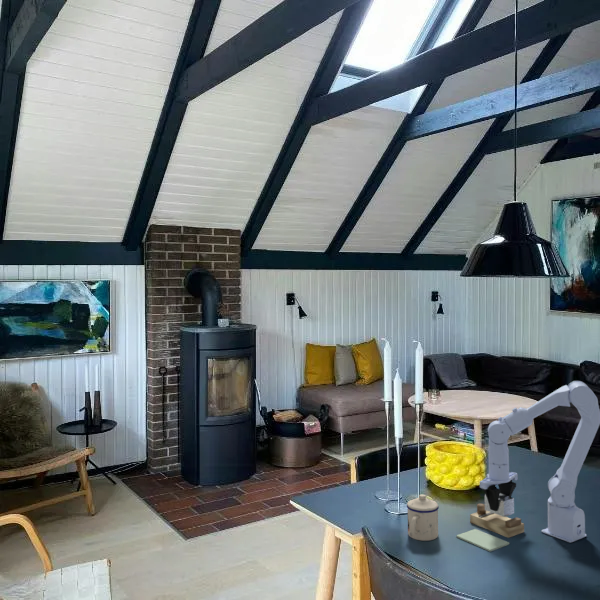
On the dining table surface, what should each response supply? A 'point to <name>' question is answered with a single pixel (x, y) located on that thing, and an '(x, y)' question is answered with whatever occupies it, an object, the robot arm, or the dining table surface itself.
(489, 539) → the mat
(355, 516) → the dining table surface
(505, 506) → the pale grey box
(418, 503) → the teacup with lid
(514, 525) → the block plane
